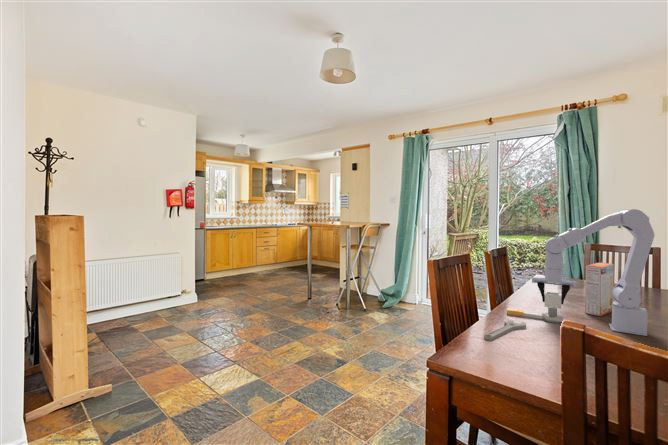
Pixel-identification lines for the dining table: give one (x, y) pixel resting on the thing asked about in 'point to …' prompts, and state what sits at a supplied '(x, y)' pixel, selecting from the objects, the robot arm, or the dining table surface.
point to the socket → (553, 300)
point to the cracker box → (599, 288)
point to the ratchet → (538, 315)
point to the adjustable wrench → (504, 329)
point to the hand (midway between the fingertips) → (552, 302)
